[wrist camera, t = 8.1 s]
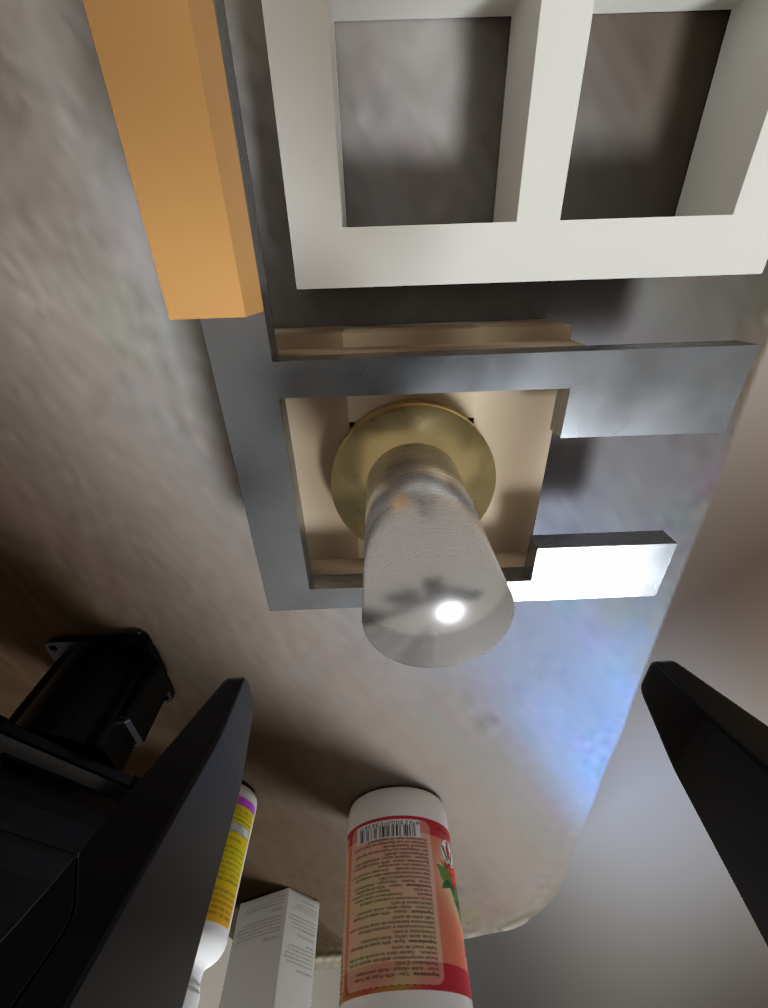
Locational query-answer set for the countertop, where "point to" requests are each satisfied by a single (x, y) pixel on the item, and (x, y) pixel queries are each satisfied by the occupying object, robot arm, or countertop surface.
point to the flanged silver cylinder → (423, 532)
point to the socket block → (497, 414)
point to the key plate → (271, 378)
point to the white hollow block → (523, 156)
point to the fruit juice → (401, 906)
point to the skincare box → (272, 953)
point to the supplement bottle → (223, 893)
